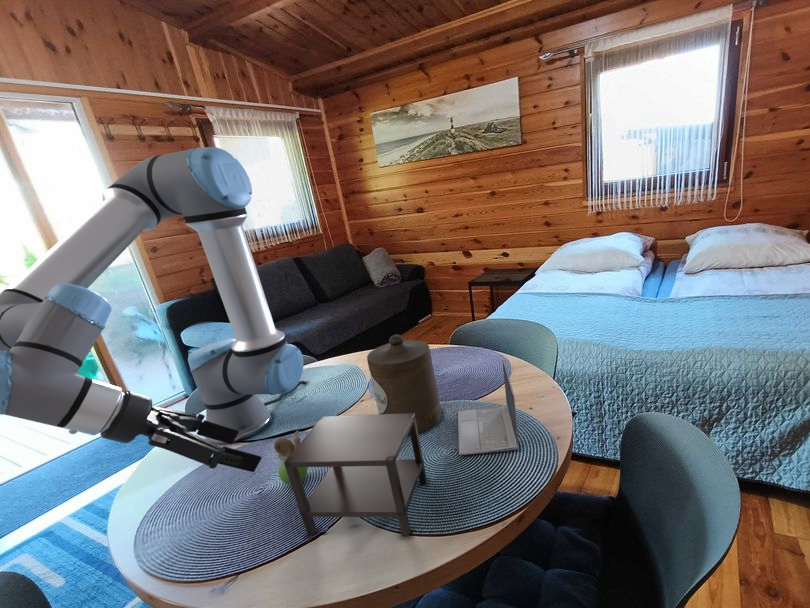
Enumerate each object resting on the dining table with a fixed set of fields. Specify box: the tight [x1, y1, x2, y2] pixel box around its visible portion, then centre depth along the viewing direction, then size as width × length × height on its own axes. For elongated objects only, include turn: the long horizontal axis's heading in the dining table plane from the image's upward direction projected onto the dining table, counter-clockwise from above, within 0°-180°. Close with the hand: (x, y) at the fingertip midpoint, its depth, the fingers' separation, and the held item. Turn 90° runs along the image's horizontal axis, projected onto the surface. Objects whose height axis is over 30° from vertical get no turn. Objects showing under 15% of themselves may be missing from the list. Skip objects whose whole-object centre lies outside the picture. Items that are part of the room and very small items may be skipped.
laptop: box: [457, 359, 520, 456], centre depth 95 cm, size 18×12×13 cm
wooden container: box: [366, 333, 442, 436], centre depth 102 cm, size 15×15×22 cm
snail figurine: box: [273, 430, 309, 486], centre depth 86 cm, size 5×6×12 cm
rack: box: [283, 413, 428, 537], centre depth 76 cm, size 14×18×15 cm
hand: (245, 450), depth 79 cm, fingers open, 13 cm apart
